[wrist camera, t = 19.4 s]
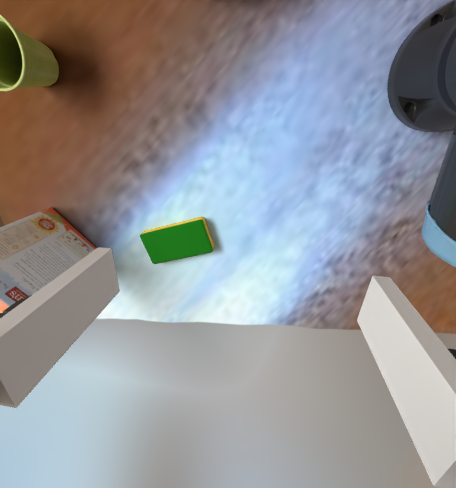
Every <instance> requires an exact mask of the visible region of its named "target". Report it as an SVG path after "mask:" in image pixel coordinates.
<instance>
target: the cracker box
mask: <svg viewBox="0 0 456 488" xmlns="http://www.w3.org/2000/svg"><path fill="white" fill-rule="evenodd" d="M95 249H97V248H96V247H95V246H94V245H93V244H91V243H90V242H89V241H88V240H87V239H86V238H85V237H84V236H83V235H82V234H80V233H79V232H78V231H77V230H76V229H75V228H74V227H73V226H72V225H71V224H69V223H68V222H67V221H66V220H65V219H64V218H63V217H62V216H61V215H59V214H58V213H57V212H56V211H55V210H54V209H53V208H52V207H51V208H48V209H46V210H43V211H41V212H38V213H36V214H33V215H31V216H28V217H26V218H23V219H21V220H18V221H15V222H13V223H10V224H8V225H5V226H3V227H0V313H3V311H4V310H5V309H7V308H8V307H9V306H11V305H12V304H14V303H15V302H17V301H19V300H21V299H23V298H26V297H28V296H30V295H33V294H35V293H36V292H37V291H39V290H40V289H41V288H43V287H44V286H46V285H47V284H48V283H50V282H51V281H52V280H54V279H55V278H57V277H58V276H59V275H61V274H62V273H63V272H65V271H66V270H68V269H69V268H70V267H72V266H73V265H74V264H76V263H77V262H79V261H80V260H81V259H83V258H84V257H86V256H87V255H88V254H90V253H91V252H92V251H94V250H95Z"/></svg>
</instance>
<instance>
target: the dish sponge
mask: <svg viewBox="0 0 456 488" xmlns="http://www.w3.org/2000/svg"><path fill="white" fill-rule="evenodd" d="M140 237H141V239H142V242H143V244H144V246H145V248H146V250H147V252H148V254H149V256H150V259H151V261H152V263H154V264H157V263H162V262H167V261H172V260H177V259H181V258H186V257H191V256H196V255H201V254H206V253H210V252H212V251H213V249H214V244H213V241H212V238H211V235H210V232H209V229H208V226H207V224H206V221H205V218H204V217H199V218H195V219H191V220H187V221H183V222H179V223H175V224H171V225H167V226H163V227H159V228H155V229H151V230H147V231H144V232H143V233H142V234H141V235H140Z"/></svg>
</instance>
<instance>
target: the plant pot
mask: <svg viewBox="0 0 456 488" xmlns="http://www.w3.org/2000/svg"><path fill="white" fill-rule="evenodd" d="M58 75H59V66H58V62H57V60H56V59H55V57H54V55H53V53H52V51H51V50H50V49H49V48H48V47H47V46H46V45H44V44H43V43H41V42H39V41H37V40H36V39H34V38H32V37H30V36H28V35H27V34H25V33H23V32H21V31H20V30H18V29H16V28H15V27H13V26H12V25H11V24H10V23H9V22H8V21H7V20H6V19H5V18H4V17H3V16H2V15H1V14H0V91H11V90H14V89H16V88H18V87H32V86H50V85H52V84H54V83H55V82H56V81H57V79H58Z"/></svg>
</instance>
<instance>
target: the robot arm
mask: <svg viewBox="0 0 456 488" xmlns="http://www.w3.org/2000/svg"><path fill="white" fill-rule="evenodd" d="M388 98H389V103H390V106H391V108H392V110H393V112H394V114H395V115H396V117H397V118H398V119H399V120H400V121H401V122H402V123H403V124H405V125H406V126H408V127H410V128H413V129H416V130H420V131H432V132H440V131H448V130H453V129H454V131H453V134H452V136H451V139H450V142H449V145H448V148H447V151H446V154H445V157H444V160H443V163H442V166H441V169H440V172H439V175H438V178H437V181H436V184H435V187H434V190H433V193H432V196H431V199H430V200H429V201H428V202H427V205H426V217H425V220H424V224H423V227H422V237H423V238H424V241H425V244H426V245H427V247H428V248H429V249H430V250H431V251H432V252H433V253H434V254H435V255H436V256H438V257H439V258H440V259H442V260H443V261H445V262H447V263H448V264H450V265H452V266H454V267H455V268H456V0H453V1H451V2H449V3H447V4H445V5H444V6H442V7H441V8H439V9H438V10H436V11H435V12H433V13H432V14H430V15H429V16H428V17H426V18H425V19H424V20H423V21H421V22H420V23H419V24H418V25H417V26H416V27H415V28H414V29H413V30H412V32H411V33H410V34H409V35H408V36H407V38H406V39H405V40H404V42H403V43H402V45H401V47H400V48H399V50H398V52H397V54H396V56H395V58H394V60H393V63H392V66H391V69H390V73H389V78H388ZM119 291H120V290H119V285H118V279H117V274H116V269H115V263H114V258H113V253H112V249H111V248H101V247H98V248H97V249H95V250H94V251H92V252H91V253H90V254H88V255H87V256H86V257H84V258H83V259H81V260H80V261H79V262H77V263H76V264H74V265H73V266H72V267H70V268H69V269H68V270H66V271H65V272H63V273H62V274H61V275H59V276H58V277H57V278H55V279H54V280H52V281H51V282H50V283H48V284H47V285H46V286H44V287H43V288H41V289H40V290H39V291H37V292H36V293H35V294H33V295H30V296H28V297H26V298H23V299H21V300H19V301H17V302H15V303H14V304H12V305H11V306H9V307H8V308H7V309H5V310H4V311H3V313H0V405H3V406H9V407H14V408H16V407H17V406H18V405H19V404H20V403H21V402H22V401H23V400H24V399H25V397H26V396H27V395H28V394H29V393H30V392H31V391H32V390H33V388H34V387H35V386H36V385H37V384H38V383H39V382H40V380H41V379H42V378H43V377H44V376H45V375H46V374H47V373H48V371H49V370H50V369H51V368H52V367H53V366H54V365H55V364H56V362H57V361H58V360H59V359H60V358H61V357H62V356H63V355H64V353H65V352H66V351H67V350H68V349H69V347H71V345H72V344H73V343H74V342H75V341H76V340H77V339H78V338H79V336H80V335H81V334H82V333H83V332H84V331H85V330H86V329H87V327H88V326H89V325H90V324H91V323H92V322H93V321H94V320H95V318H96V317H97V316H98V315H99V314H100V313H101V312H102V310H103V309H104V308H105V307H106V306H107V305H108V304H109V303H110V301H111V300H112V299H113V298H114V297H115V296H116V295H117V294H118V292H119ZM357 321H358V323H359V326H360V328H361V330H362V332H363V334H364V336H365V339H366V341H367V343H368V345H369V347H370V349H371V352H372V354H373V356H374V358H375V360H376V362H377V365H378V367H379V369H380V371H381V373H382V375H383V378H384V380H385V381H386V384H387V386H388V388H389V391H390V393H391V395H392V397H393V399H394V401H395V404H396V406H397V408H398V410H399V412H400V414H401V417H402V419H403V421H404V423H405V425H406V427H407V430H408V431H409V434H410V436H411V438H412V440H413V442H414V445H415V447H416V449H417V451H418V453H419V456H420V458H421V460H422V462H423V464H424V466H425V469H426V471H427V473H428V475H429V477H430V480H431V482H432V484H433V486H435V487H441V488H456V350H454V349H447V348H446V347H445V346H444V344H443V343H442V342H441V340H440V339H439V338H438V337H437V336H436V334H435V333H434V332H433V330H432V329H431V328H430V327H429V325H428V324H427V323H426V322H425V321H424V319H423V318H422V317H421V316H420V314H419V313H418V312H417V311H416V309H415V308H414V307H413V306H412V304H411V303H410V302H409V301H408V299H407V298H406V297H405V296H404V294H403V293H402V292H401V291H400V289H399V288H398V287H397V286H396V284H395V283H394V282H393V281H392V280H391V278H390V277H380V276H372V279H371V282H370V285H369V288H368V291H367V293H366V296H365V299H364V302H363V305H362V308H361V311H360V313H359V316H358V319H357Z"/></svg>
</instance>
